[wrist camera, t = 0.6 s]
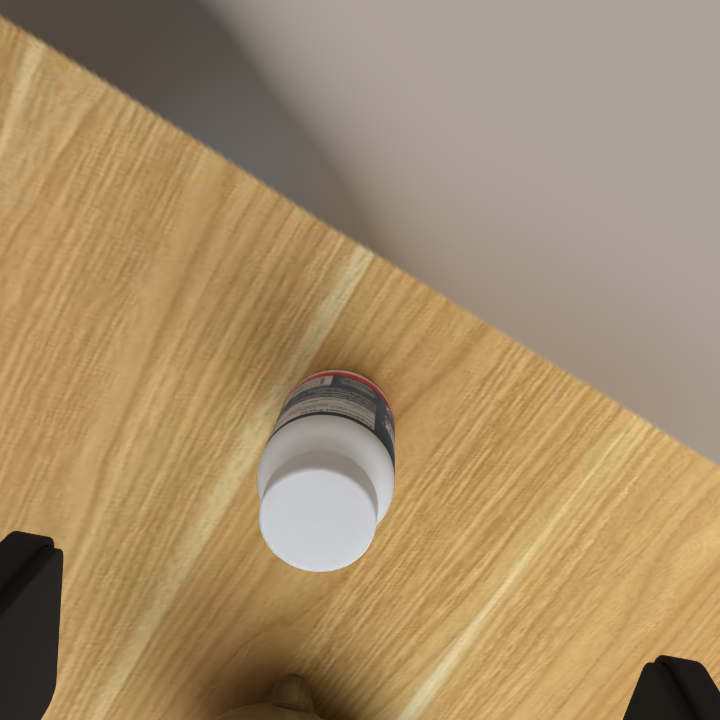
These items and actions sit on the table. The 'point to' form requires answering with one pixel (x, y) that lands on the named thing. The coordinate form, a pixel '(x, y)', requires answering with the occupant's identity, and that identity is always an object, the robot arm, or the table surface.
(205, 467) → the table surface
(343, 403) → the pill bottle
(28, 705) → the robot arm
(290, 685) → the piggy bank
